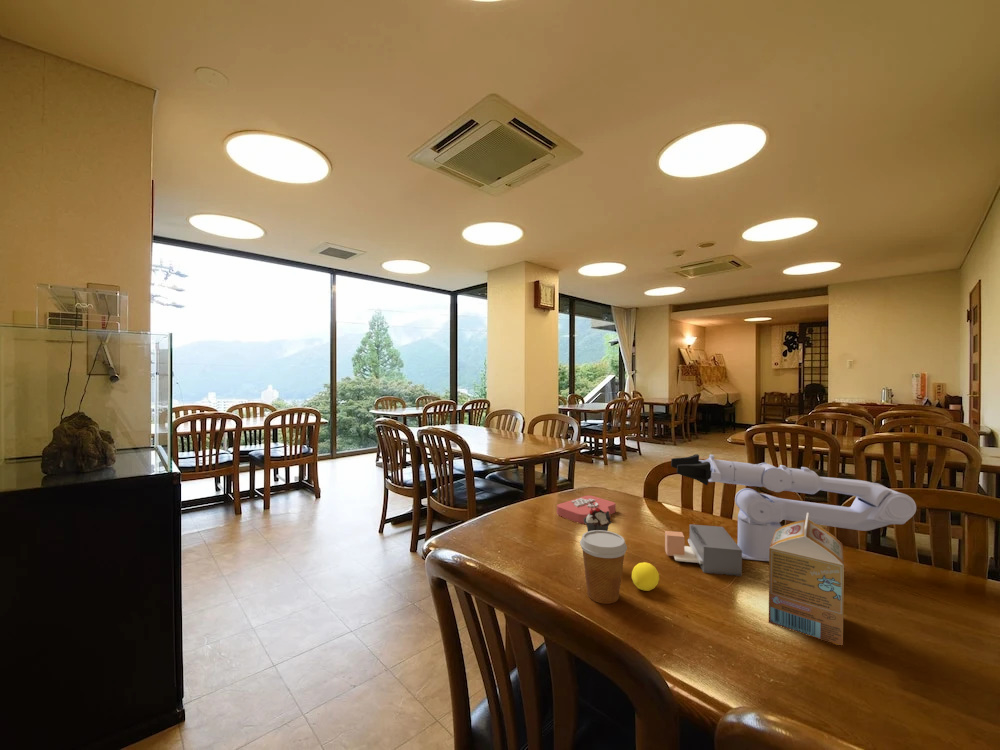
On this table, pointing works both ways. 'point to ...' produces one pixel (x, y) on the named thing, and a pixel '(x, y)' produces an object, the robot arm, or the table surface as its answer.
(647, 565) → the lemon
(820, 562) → the milk carton
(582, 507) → the plaque
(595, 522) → the sundae
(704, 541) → the dispenser
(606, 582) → the disposable coffee cup
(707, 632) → the table surface
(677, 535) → the peach block on base
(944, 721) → the table surface
